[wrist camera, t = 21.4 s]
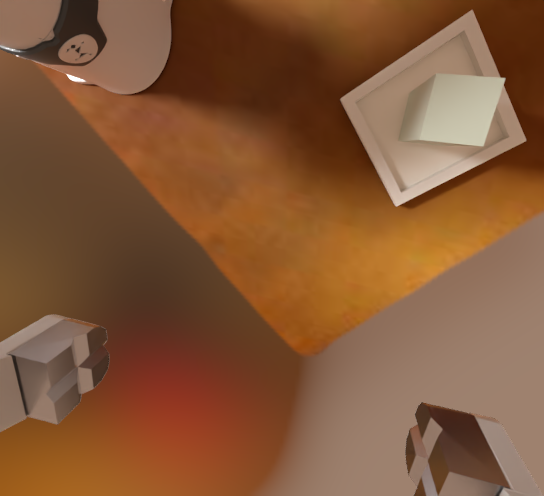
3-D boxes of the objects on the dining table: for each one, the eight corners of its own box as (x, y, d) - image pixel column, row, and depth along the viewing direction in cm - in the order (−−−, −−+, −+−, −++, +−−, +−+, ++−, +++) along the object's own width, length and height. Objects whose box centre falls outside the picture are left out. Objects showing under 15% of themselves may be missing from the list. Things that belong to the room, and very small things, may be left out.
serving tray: (340, 100, 36) (340, 98, 34) (464, 17, 31) (472, 9, 29) (393, 203, 38) (396, 206, 36) (516, 140, 33) (526, 140, 31)
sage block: (398, 141, 35) (419, 139, 26) (409, 93, 33) (436, 73, 24) (443, 145, 34) (483, 146, 25) (458, 96, 32) (505, 78, 23)
